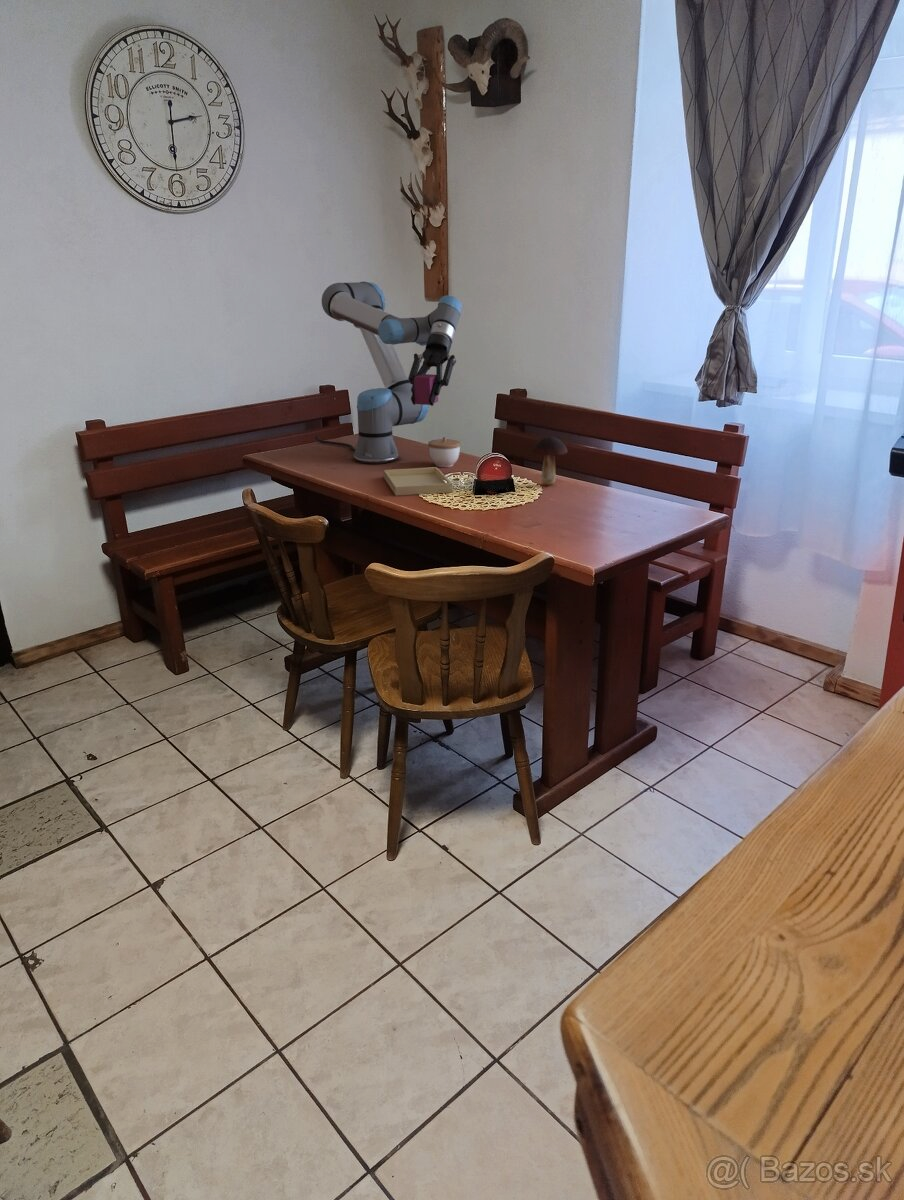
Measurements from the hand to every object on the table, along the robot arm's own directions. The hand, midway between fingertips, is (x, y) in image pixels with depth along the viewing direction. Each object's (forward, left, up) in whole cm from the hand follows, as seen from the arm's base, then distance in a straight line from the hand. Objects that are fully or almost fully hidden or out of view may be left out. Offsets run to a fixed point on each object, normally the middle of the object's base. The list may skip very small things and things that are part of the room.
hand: (422, 402), depth 245 cm
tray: (+4, -3, -24) cm, 25 cm away
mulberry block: (-3, +2, -1) cm, 4 cm away
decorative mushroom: (+14, +36, -25) cm, 46 cm away
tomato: (+17, +18, -25) cm, 35 cm away
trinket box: (-19, +11, -25) cm, 33 cm away
